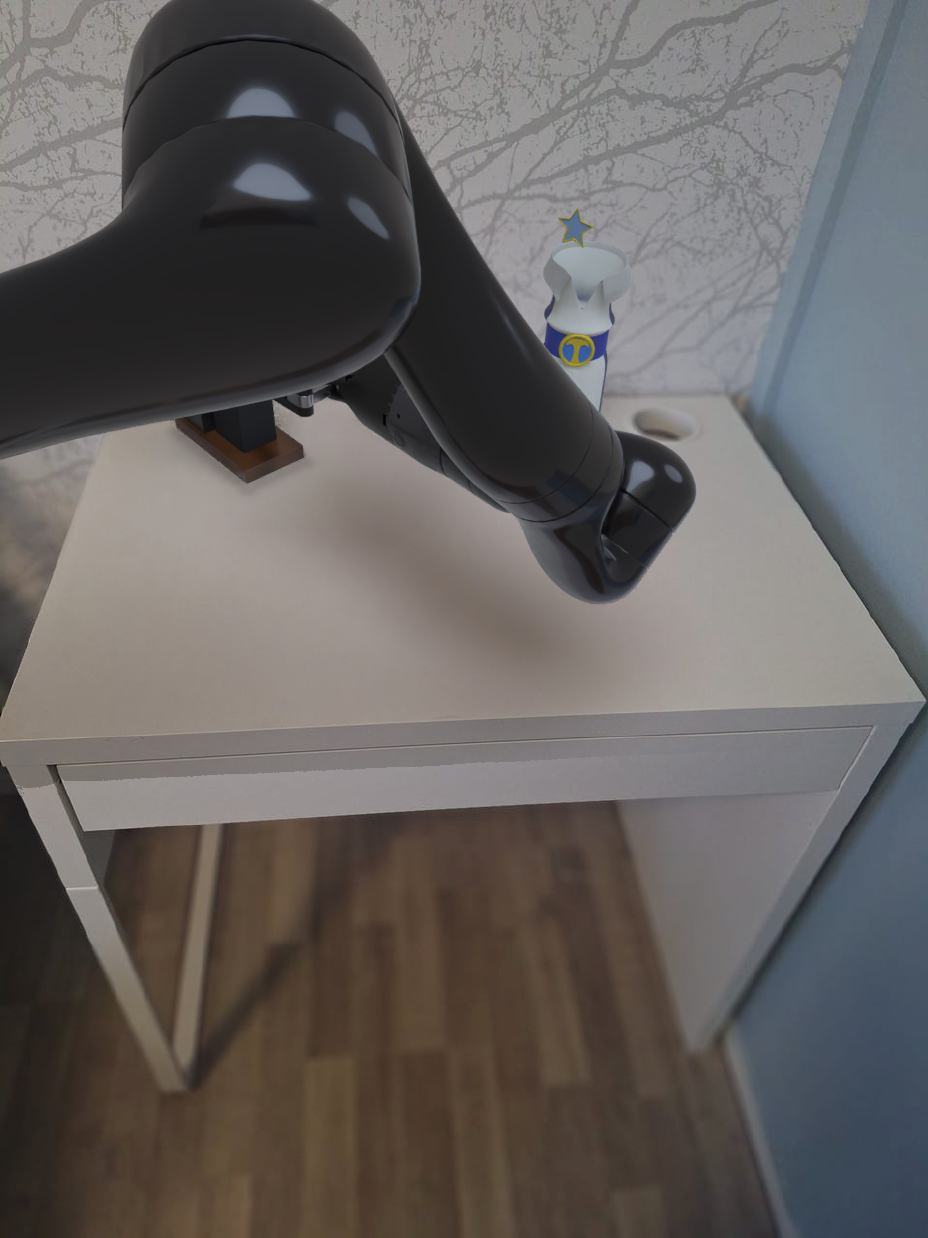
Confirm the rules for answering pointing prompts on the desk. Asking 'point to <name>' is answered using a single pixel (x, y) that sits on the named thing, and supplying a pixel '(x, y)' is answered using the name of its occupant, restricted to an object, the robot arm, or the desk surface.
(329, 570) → the desk surface
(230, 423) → the black rectangular block
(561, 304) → the white piece
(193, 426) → the black brown block stand
